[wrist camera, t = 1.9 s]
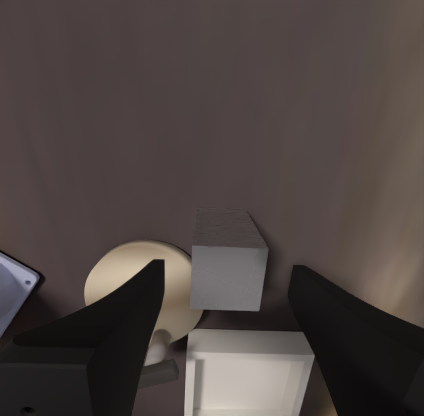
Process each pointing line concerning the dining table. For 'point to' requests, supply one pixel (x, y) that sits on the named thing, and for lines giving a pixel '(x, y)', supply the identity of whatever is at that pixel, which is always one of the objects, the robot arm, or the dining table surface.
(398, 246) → the dining table surface
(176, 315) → the crank
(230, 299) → the block
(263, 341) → the tray
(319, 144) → the dining table surface
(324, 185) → the dining table surface
